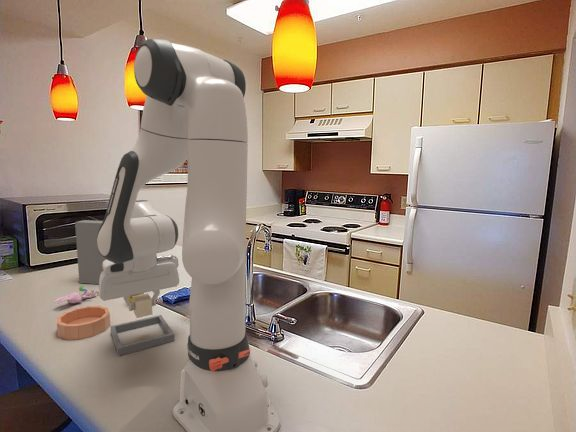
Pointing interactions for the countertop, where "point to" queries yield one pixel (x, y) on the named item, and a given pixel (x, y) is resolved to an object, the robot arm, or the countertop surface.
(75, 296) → the rabbit figure
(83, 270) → the tall grey upright pillar
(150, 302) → the cream block
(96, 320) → the bowl
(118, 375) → the countertop surface
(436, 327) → the countertop surface
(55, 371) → the countertop surface
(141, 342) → the grey rectangular frame
